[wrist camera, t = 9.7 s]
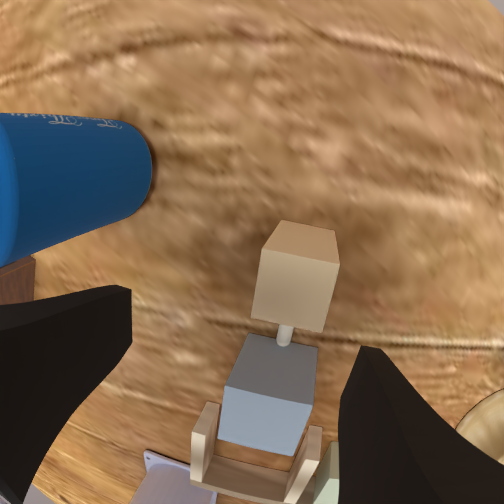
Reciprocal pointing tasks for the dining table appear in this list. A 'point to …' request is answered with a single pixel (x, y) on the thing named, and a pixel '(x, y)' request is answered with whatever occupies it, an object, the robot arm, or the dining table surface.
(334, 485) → the plain block
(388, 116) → the dining table surface
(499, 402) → the hand bell
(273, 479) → the rack
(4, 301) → the tissue box cover
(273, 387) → the corded block
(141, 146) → the beverage can
